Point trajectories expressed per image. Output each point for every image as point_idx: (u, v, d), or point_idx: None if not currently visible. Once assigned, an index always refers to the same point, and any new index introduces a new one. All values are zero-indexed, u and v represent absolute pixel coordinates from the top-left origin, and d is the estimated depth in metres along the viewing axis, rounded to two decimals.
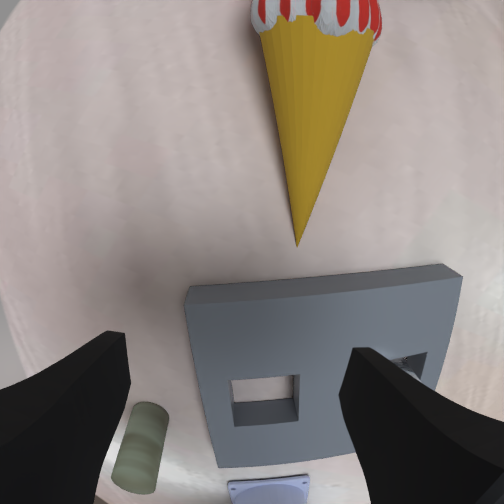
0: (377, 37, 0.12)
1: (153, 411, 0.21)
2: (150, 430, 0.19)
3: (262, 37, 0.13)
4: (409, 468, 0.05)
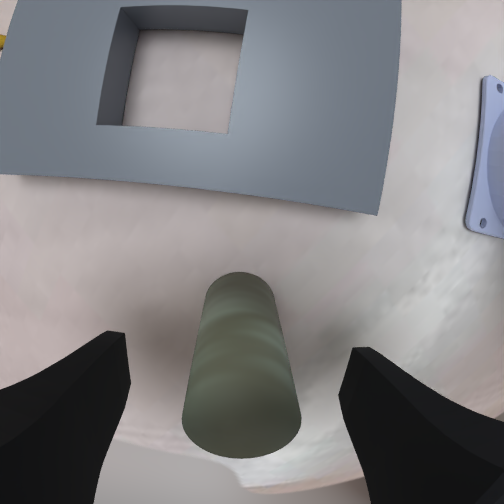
0: None
1: (209, 294, 0.13)
2: (207, 314, 0.11)
3: None
4: (409, 468, 0.05)
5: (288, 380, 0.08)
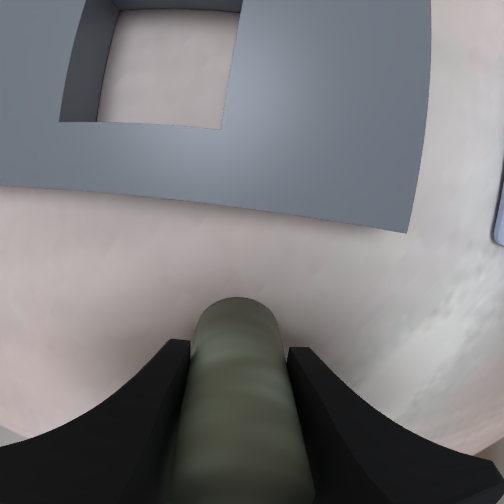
0: None
1: (200, 324, 0.11)
2: (198, 355, 0.09)
3: None
4: (324, 482, 0.05)
5: (299, 451, 0.06)
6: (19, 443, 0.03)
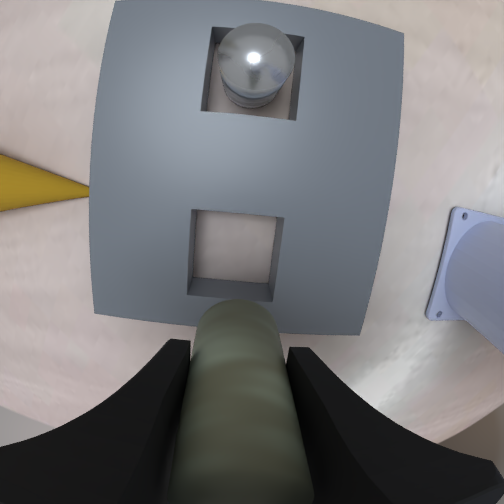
0: None
1: (200, 326, 0.11)
2: (197, 358, 0.09)
3: None
4: (324, 482, 0.05)
5: (298, 452, 0.06)
6: (19, 443, 0.03)
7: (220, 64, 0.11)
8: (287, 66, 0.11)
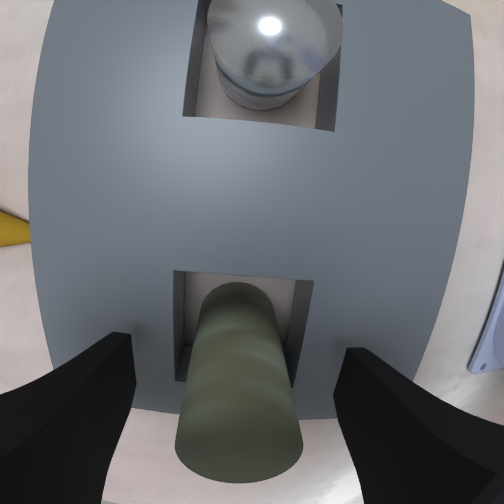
0: None
1: (204, 306, 0.12)
2: (202, 330, 0.10)
3: None
4: (402, 470, 0.05)
5: (289, 404, 0.07)
6: None
7: (212, 34, 0.06)
8: (331, 40, 0.06)
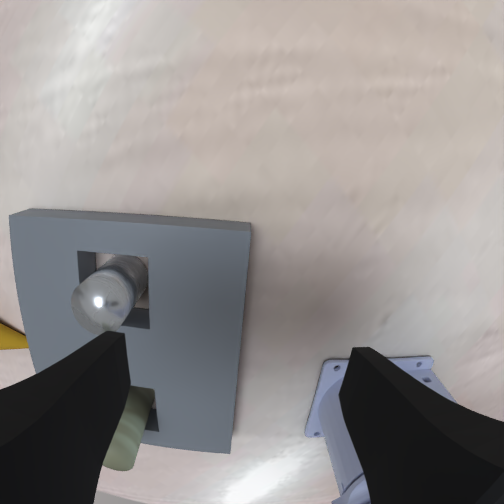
0: None
1: None
2: None
3: None
4: (409, 468, 0.05)
5: (127, 443, 0.16)
6: None
7: (75, 315, 0.15)
8: (118, 318, 0.15)
